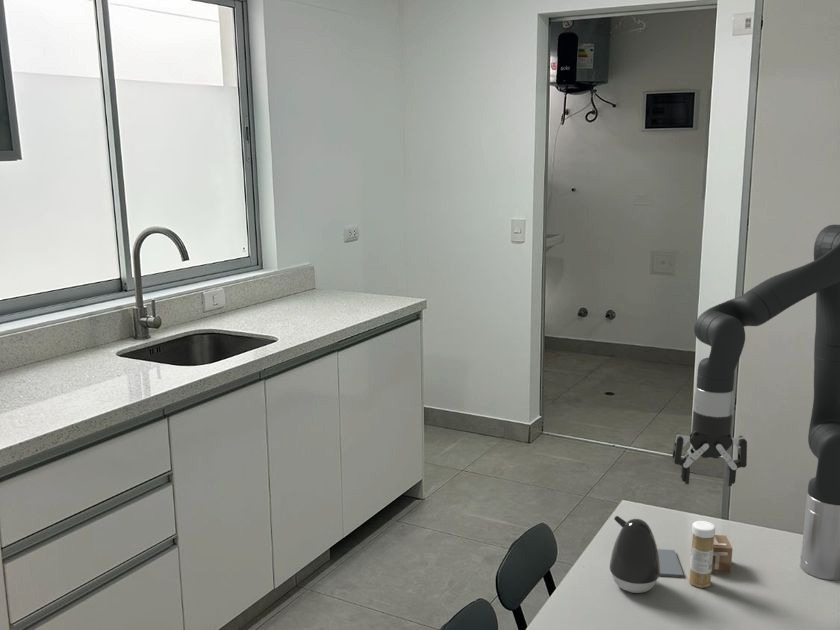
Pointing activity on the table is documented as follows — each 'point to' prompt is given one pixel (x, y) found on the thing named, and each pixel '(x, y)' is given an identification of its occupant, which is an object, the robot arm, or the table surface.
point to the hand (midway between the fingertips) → (707, 484)
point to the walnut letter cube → (721, 554)
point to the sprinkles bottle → (701, 554)
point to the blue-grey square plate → (669, 563)
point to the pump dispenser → (635, 557)
